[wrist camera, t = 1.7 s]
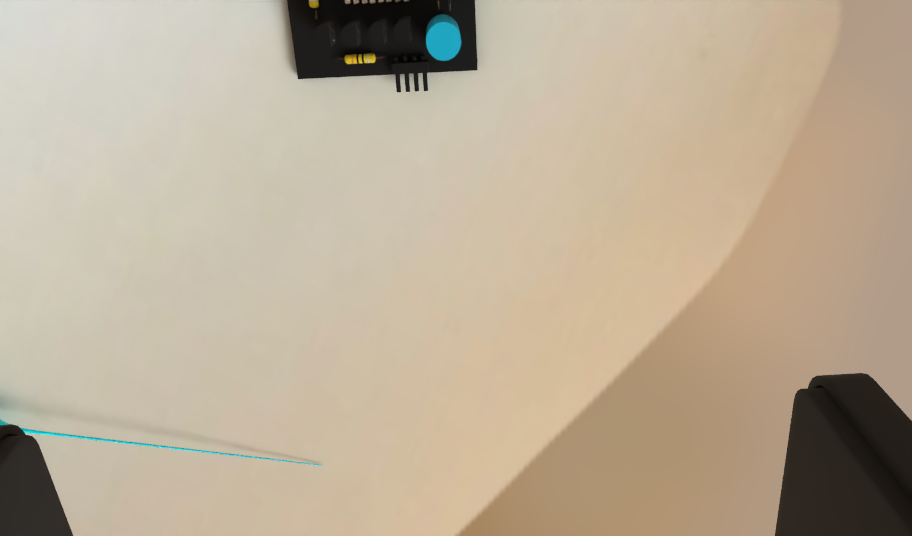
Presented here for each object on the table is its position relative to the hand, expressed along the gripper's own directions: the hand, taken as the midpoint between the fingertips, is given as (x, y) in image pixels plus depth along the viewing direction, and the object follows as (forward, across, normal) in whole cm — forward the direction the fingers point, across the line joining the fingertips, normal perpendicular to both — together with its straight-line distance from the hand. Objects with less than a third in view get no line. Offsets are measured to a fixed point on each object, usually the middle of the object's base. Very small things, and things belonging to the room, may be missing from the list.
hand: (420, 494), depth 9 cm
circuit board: (+16, +1, -4) cm, 16 cm away
